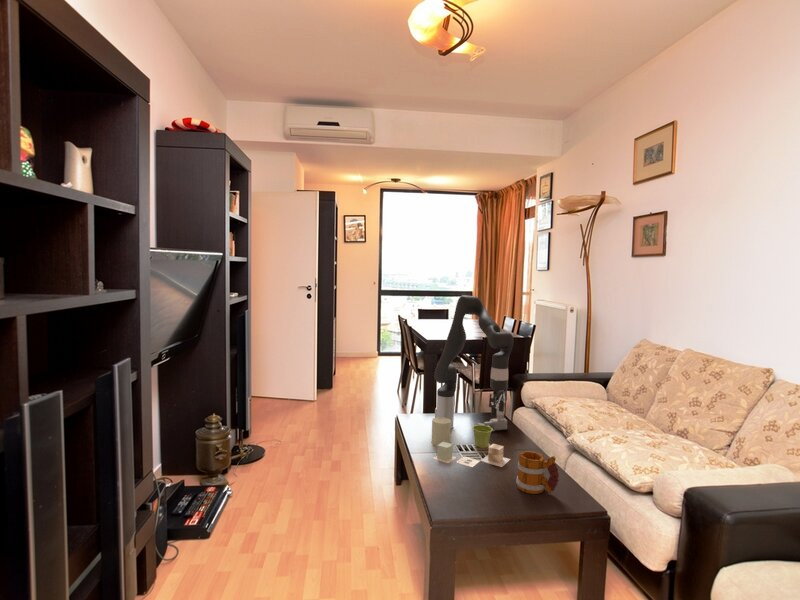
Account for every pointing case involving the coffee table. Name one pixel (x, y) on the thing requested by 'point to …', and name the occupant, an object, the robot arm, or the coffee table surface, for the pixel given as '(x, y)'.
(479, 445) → the plant pot
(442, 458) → the sage block
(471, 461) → the code tile
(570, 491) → the coffee table surface
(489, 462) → the felt pad
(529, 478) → the mug
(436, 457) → the code tile
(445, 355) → the robot arm
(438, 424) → the can
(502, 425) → the camera
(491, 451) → the beech block
